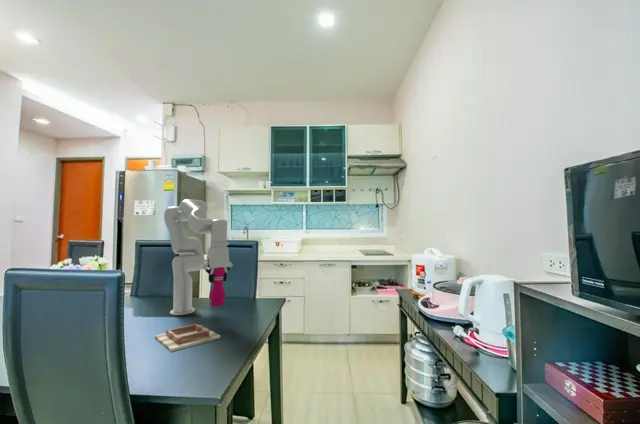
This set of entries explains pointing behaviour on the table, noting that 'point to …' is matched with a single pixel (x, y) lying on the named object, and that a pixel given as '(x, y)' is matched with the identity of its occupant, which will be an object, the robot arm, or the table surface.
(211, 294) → the pepper mill
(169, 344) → the board
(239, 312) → the table surface
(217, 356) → the table surface
